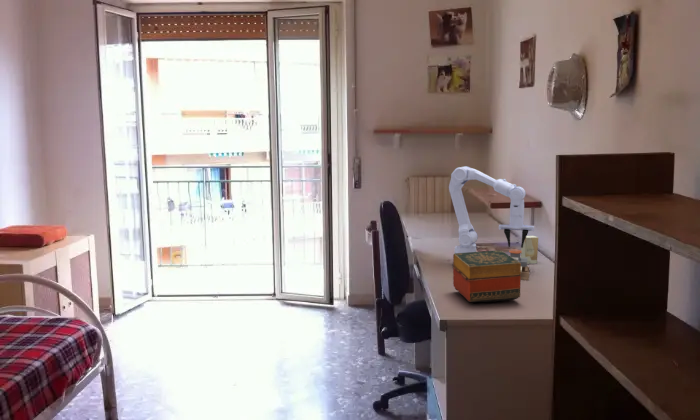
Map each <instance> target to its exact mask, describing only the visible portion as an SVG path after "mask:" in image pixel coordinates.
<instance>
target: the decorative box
mask: <svg viewBox="0 0 700 420" xmlns="http://www.w3.org/2000/svg"><path fill="white" fill-rule="evenodd" d="M452 258H453V259H452V260H453V261H452V263H453V266H452V268H453V269H452V270H453V272H452V274H453V275H452V276H453V277H452V280H453V281H452V282H453V283H452V284H453V287H454V289H455V290H456V291H458V293H459V294H460V295H461V296H462V297H463V298H464V299H466V301H467V302H470V303H495V302H498V301H499V302H500V301H501V302H502V301H506V302H507V301H513V300H517V299H519V298H520V297H521V281H522V280H521V276H520V275H521V263H520V262H518V261H516V260H515V259H514V258H512V257H510V254H507V253H506V252H504V251H503V250H500V249H499V250H497V249H496V250H486V251H485V250H483V251H476V252H468V253H455V252H454V253H453V256H452Z"/></svg>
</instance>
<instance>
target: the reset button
mask: <svg viewBox="0 0 700 420" xmlns="http://www.w3.org/2000/svg"><path fill="white" fill-rule="evenodd" d="M508 251H509V253H510V254H509V256H510V257H516V258H518V261H520V258H521V253H522V250H521V249H517V248H515V249H514V248H512V249H509V250H508Z"/></svg>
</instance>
